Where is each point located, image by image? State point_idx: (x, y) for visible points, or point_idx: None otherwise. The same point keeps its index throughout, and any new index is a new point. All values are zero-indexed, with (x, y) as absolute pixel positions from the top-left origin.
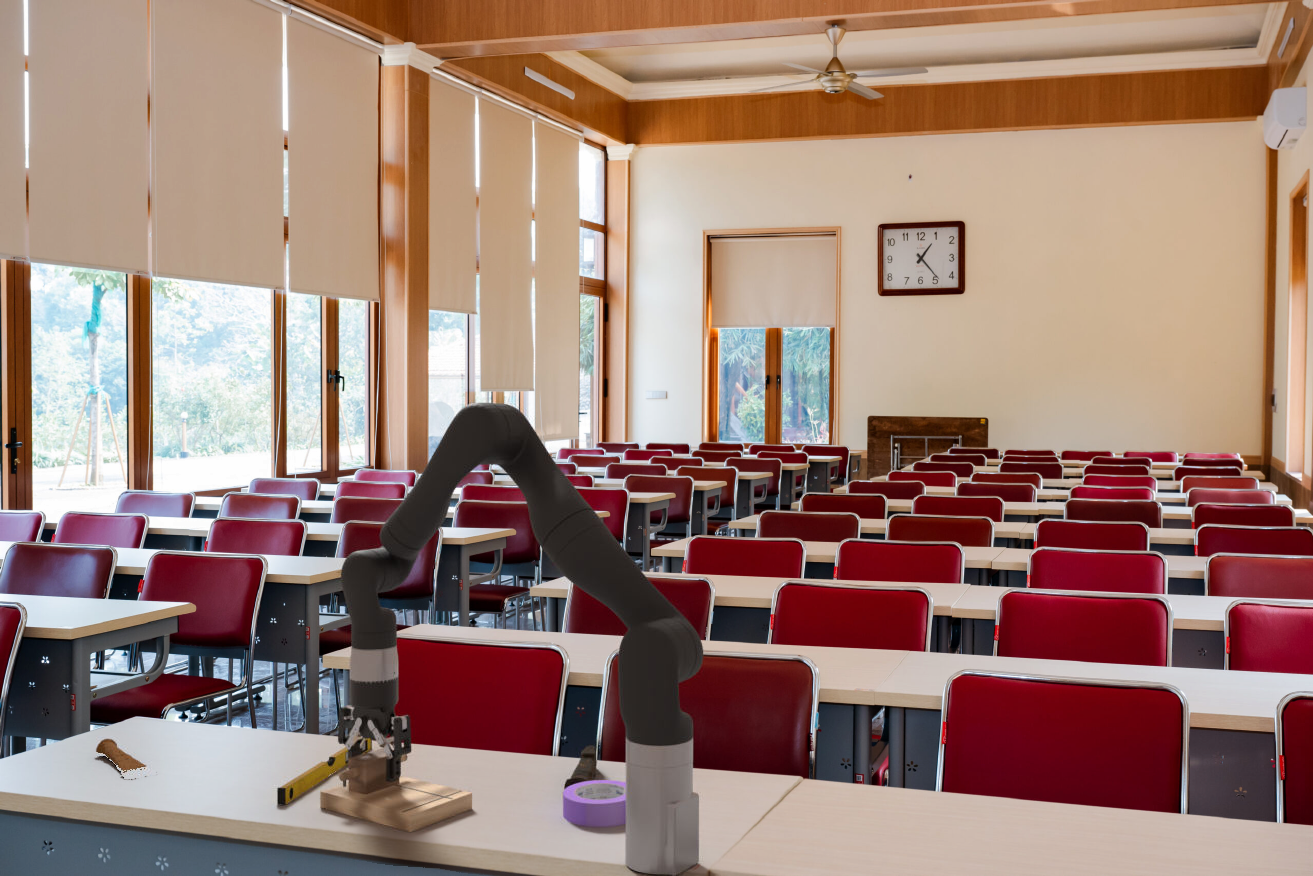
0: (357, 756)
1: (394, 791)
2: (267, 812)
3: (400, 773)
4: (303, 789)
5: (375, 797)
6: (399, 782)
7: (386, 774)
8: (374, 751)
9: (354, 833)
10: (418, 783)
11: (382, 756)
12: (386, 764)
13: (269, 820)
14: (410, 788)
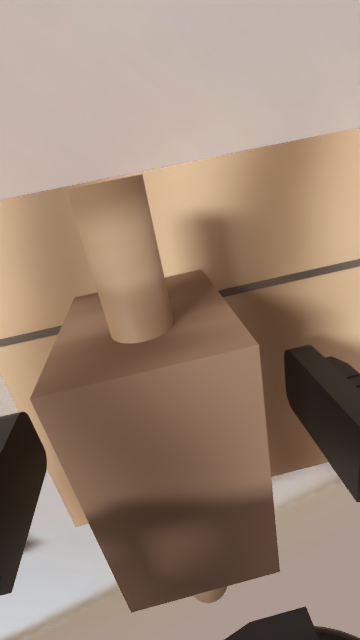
0: (131, 576)
1: (281, 344)
2: (30, 574)
3: (349, 368)
4: None
5: (282, 424)
6: (201, 269)
7: (307, 427)
8: (93, 475)
9: (338, 479)
10: (273, 194)
11: (255, 478)
12: (337, 470)
13: (99, 580)
14: (308, 274)
